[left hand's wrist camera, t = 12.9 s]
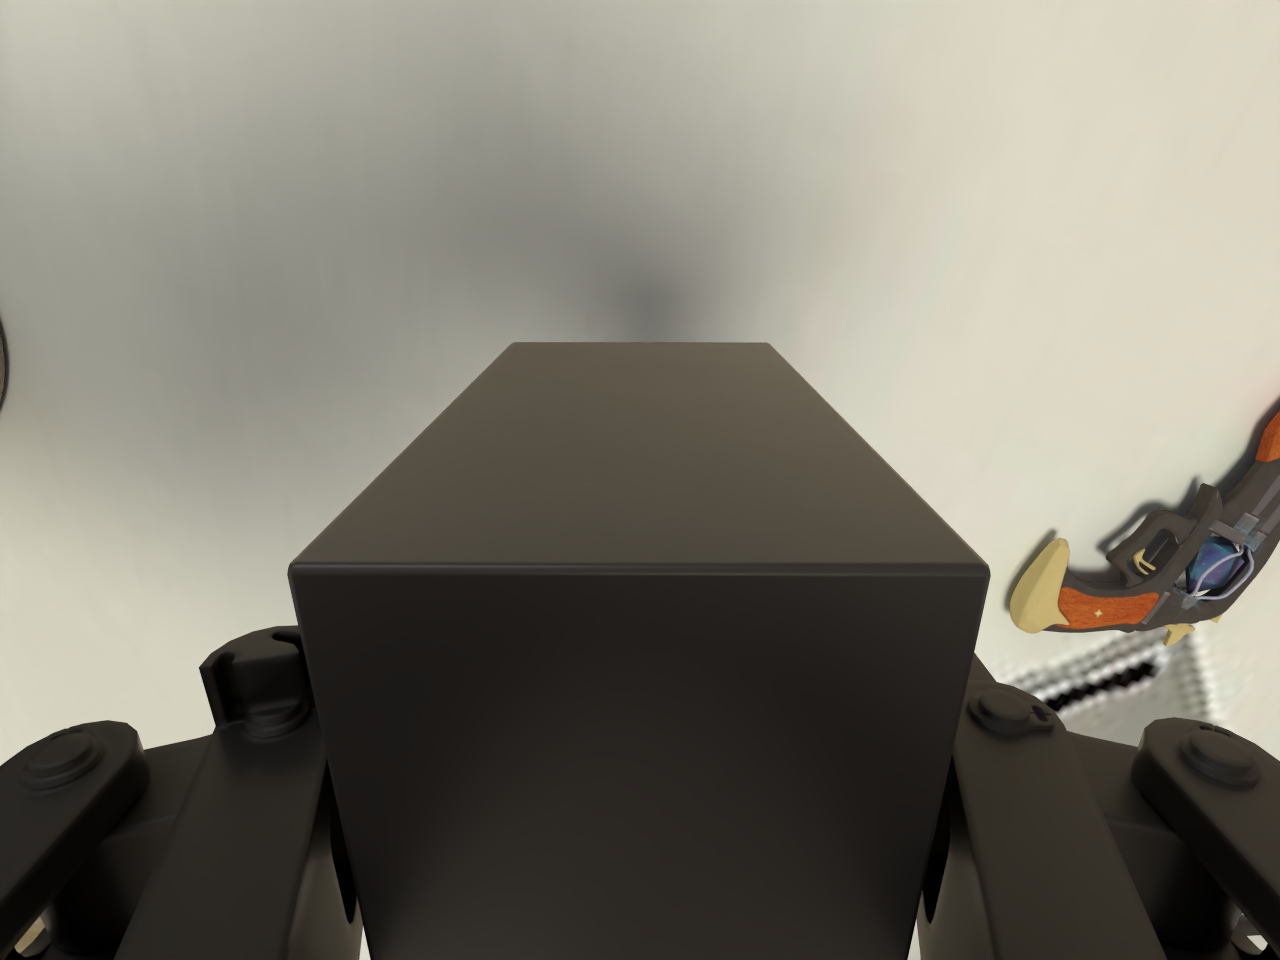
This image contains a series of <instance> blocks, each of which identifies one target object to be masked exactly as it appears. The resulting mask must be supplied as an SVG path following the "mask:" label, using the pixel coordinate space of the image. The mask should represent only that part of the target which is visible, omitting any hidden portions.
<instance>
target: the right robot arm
mask: <svg viewBox="0 0 1280 960" xmlns="http://www.w3.org/2000/svg"><path fill="white" fill-rule="evenodd" d="M1237 925H1238V926H1239V927H1240V928H1241V930H1242V931H1243V932H1244V933H1245V935H1246V936H1252V935H1261V934H1260V933H1259V932H1258V931H1257V930H1256V928H1255V927H1254V926H1253V925H1252V924H1251V922H1250V921H1249V920H1248V921H1238V923H1237Z"/></svg>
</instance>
